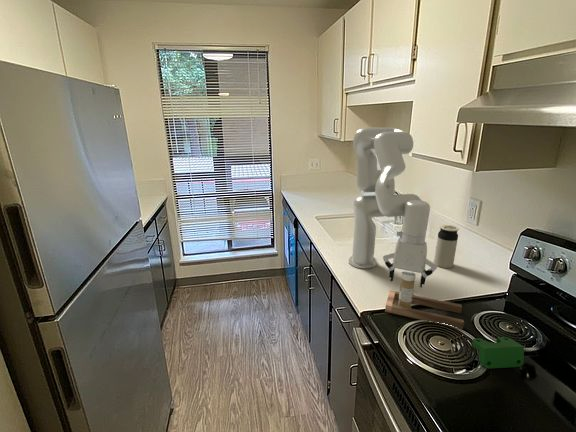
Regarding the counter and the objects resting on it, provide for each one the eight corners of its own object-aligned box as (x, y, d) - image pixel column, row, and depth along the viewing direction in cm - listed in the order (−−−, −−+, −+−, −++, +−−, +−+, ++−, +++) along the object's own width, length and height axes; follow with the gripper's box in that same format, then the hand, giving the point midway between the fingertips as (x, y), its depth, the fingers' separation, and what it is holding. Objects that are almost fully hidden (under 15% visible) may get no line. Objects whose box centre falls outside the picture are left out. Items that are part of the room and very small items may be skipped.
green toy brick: (500, 367, 94) (512, 339, 94) (516, 379, 88) (529, 348, 88) (463, 353, 93) (476, 324, 93) (477, 364, 87) (490, 333, 87)
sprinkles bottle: (401, 302, 118) (405, 268, 114) (413, 306, 115) (417, 272, 111) (395, 307, 115) (399, 273, 111) (408, 312, 112) (412, 277, 108)
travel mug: (456, 266, 146) (463, 228, 141) (445, 270, 143) (451, 231, 137) (441, 259, 153) (447, 223, 147) (429, 263, 149) (435, 226, 144)
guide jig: (389, 296, 122) (389, 290, 122) (460, 310, 113) (461, 304, 112) (385, 311, 113) (385, 305, 112) (462, 329, 104) (463, 322, 103)
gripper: (384, 237, 108) (379, 282, 113) (441, 246, 101) (432, 293, 107) (387, 229, 114) (382, 272, 120) (441, 237, 107) (433, 282, 113)
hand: (406, 282), depth 113 cm, fingers open, 9 cm apart
